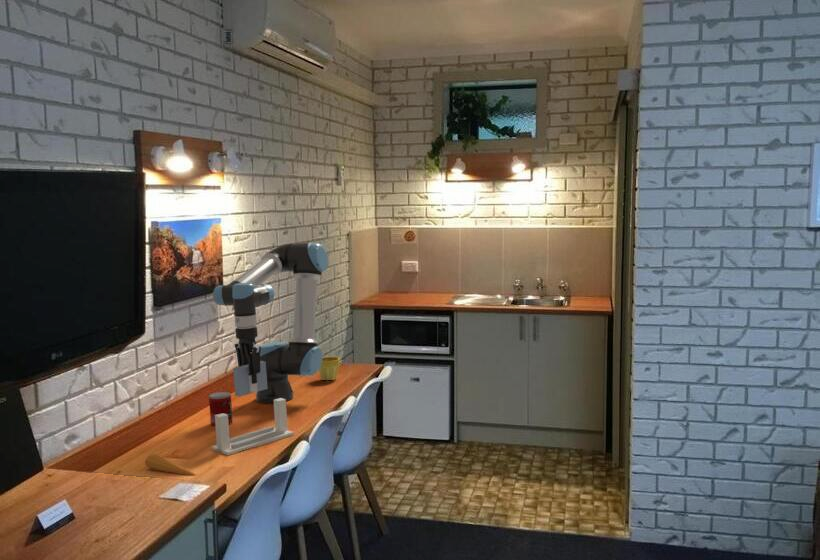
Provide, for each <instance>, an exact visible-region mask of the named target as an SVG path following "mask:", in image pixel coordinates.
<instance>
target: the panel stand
mask: <svg viewBox="0 0 820 560" xmlns="http://www.w3.org/2000/svg"><path fill="white" fill-rule="evenodd" d="M273 412H274V413H273V414H274V426H275V427H274V426H272V425H271V426H267V427H263V428H261V429H258V430H253V431H250V432H246V433H243V434H241V435H237V436H234V437H231V438H230V427H229V426H230V425H229V424H228V415H227V414H224V413H222V414H218V415H215V426H214V427H215V437H216V438H215V439H216V444H215V445H211V450H212V449H213V451H215V452H218V453H220V452H221V453H220V454H223V453H224V455H226V456H231V455H234V454H237V453H236V452H238V453H240V452H239V451H241V452H243V451H242V450H244V451H246V450H245V449H247V450H249V449H248V448H250V449H252V448H251V447H254V448H256V447H255V446H257V447H259V445H260V446H264V445H266V444H269V443H272V442H276V441H278V440H282V439H286V438H287V437H291V436H295V433H294V431H291V430H289V429H288V417H287V415H288V413H287V401H286V399H283V398H279V399H275V400H274V403H273ZM233 453H234V454H233ZM230 454H231V455H230Z"/></svg>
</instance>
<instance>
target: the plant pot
mask: <svg viewBox="0 0 820 560" xmlns="http://www.w3.org/2000/svg"><path fill="white" fill-rule="evenodd" d="M340 365H341V358H340V357H338V356H323V358H322V364H321V367H320V369H319V370H318V371H319V374H320V378H321V380H322V379H323V380H333V379H336V378H338V372H339V367H340ZM336 380H337V379H336Z"/></svg>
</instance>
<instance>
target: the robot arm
mask: <svg viewBox="0 0 820 560" xmlns="http://www.w3.org/2000/svg"><path fill="white" fill-rule="evenodd" d="M328 265H329V258H328V253H327V251H326V249H325V247H324V246H323V245H322V244H321V243H318V242H315V243H314V242H305V243H304V242H302V243H301V242H300V243H285V244H282V245H280V246H277V247H275V248H273V249H271V250H270V251H268V252H267V253H266V254H264V255H263V256H262V257H261V260H259V261H258V262H257V263H256V264H254V265H253V266H252V267H250V268H249V269H247V270H246V271H245V272H243V273H242V274H241V275H239V276H238V277H236V278H235V279H233V280H232V281H231V282H229V283H228V284H226V285H225V284H222V285H217V286H215V288H214V290H213V293H212V297H213V301H214V303H215V304H216V305H218V306H224V307H227V306H229V307H230V306H233V311H234V313H233V314H234V325H235V327H236V328H235V338H236V339H237V340H238V342H237V343H234V348H235V351H236V352H235V353H236V358H237V364H238V365H237V367H239V366H243V365H247V364H249V371H250V374H248V375H249V388H250V393H251V394H254V393H256V394H255V400H257V401H256V402H258V403H261V404H274V400H275V399H279V398H283V399H286V402H287V401H291V400H292V399H293V398H294V390H293V388H292V386H291V383H290V381H289V376H302V377H306V376H308V377H309V376H314V375H315V374H316V373H318V371H319V369H320V367H321V364H322V358H323V357H324V355H323V353H322V352H323V350H322V348H320V347H319V346H318V345H319V344H318V343H319V342H318V341H317V340H316V339H315V333H316V332H315V330H316V309H317V296H318V295H317V294H318V281H319V279H321V278H322V273H323V272H325V271H326V270H327V268H328ZM284 272H285V273H286V272H292V276H293V277H294V279H296V283H295V297H294V315H293V329H292V337H291V339H290V340H289V341H288V345H287V342H286V341H277V342H271V343H270V342H269V343H267V344H262V345H261V346H260V345H259V346H258V345H257V341H256V338H257V337H258V336H259V335H258V327H257V325H258V322H257V321H258V320H257V319H258V318H257V312H256V311H257V309H256V308H257V307H262V306H267V305H268V304H271V303H272V302H273V301H274V299H275V290H274V288H273V287H272V286H271V284H270V285H269V284H267V283H265V282H266V281H268V280H269V278H271V277H273V276H277V275H279V274H282V273H284ZM260 361H264V362H266V375H267V387H268V389H265V390H261V391H258V392H257V373H260Z"/></svg>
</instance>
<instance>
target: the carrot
mask: <svg viewBox="0 0 820 560" xmlns="http://www.w3.org/2000/svg"><path fill="white" fill-rule="evenodd" d="M144 461H145V462H144V466H146V467H147V468H148V469H149V470H154V471H159V472H164V471H165V472H164V473H170V472H171V473H173V474H177V473H178V474H179V475H184V474H185V475H186V476H194V475H197V474H196V473H194V472H192V471H190V470H189V469H187V468H186V467H183V466H180V465H179V464H176V463H174V462H172V461H170V460H168V459H166V458H164V457H161V456H160V455H157V454H155V453H154V454H149V455H147V456H146V458H145V460H144Z"/></svg>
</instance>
